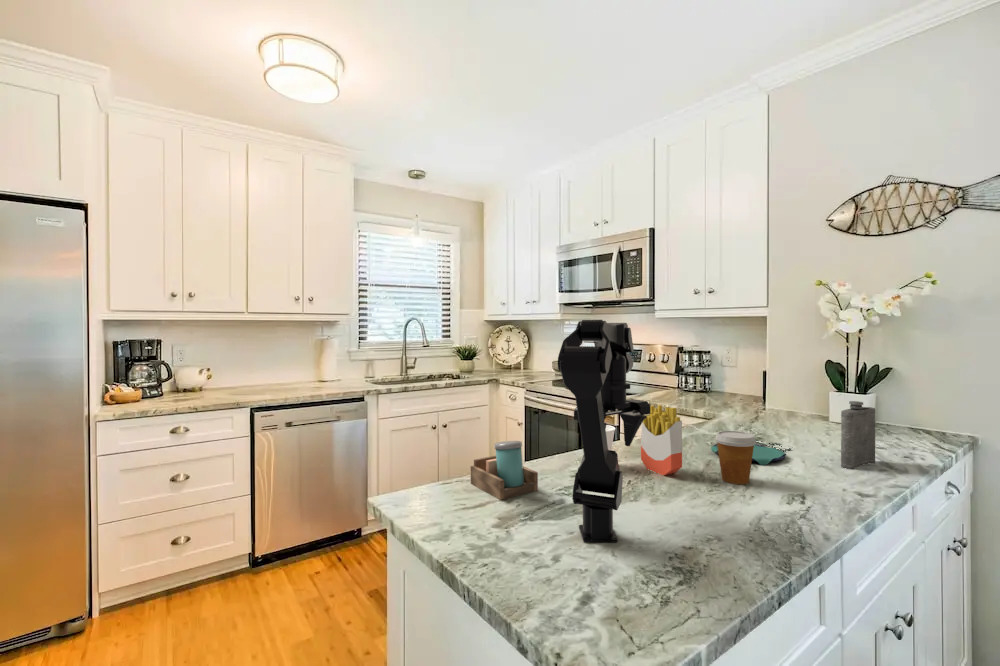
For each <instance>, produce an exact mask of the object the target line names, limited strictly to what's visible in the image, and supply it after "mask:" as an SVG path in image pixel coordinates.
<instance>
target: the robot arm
mask: <svg viewBox="0 0 1000 666" xmlns="http://www.w3.org/2000/svg"><path fill="white" fill-rule="evenodd" d="M583 342H593V343H594V346H592V345H591V346H589V345H588V346H582V344H583ZM633 352H634V343H633V336H632V329H631V327H629V326H628V323H627V322H607V321H606V320H603V319H582V320H579V321H578V322H577V325H576V329H575V330H574V331H572V332H571V333H570V334H569V335H567V337H566V338H565V339H563V341H562V343H561V347H560V350H559V353H558V356H557V369H558V371H559V372H560V374H561V377H562V382H563V385H564V386H565V387H566V388H567V389H568V391H570V393H571V394H573V396H574V398H575V399H574V400H575V404H576V407H575V408H574V410H573V420H575V421H577V422H578V423H579V430H580V437H581V443H582V444H581V445H582V449H583V455H582V459H581V462H580V464H579V466H578V467H577V471H576V472H575V476H574V481H573V489H572V503H573V505H582V524H579V525H578V530H579V533H580V536H581V538H582V541H583V542H586V543H587V542H588V543H589V542H590V543H616V542H618V541H619V538H618V536H617V535H616V532H615V530H614V524H613V523H614V516H613V515H614V511H618V510H619V508H620V506H621V504H622V497H623V481H624V477H623V475H624V473H623V471H622V470H620V465H619V457H618V453H617V452H616V450H612V449H611V450H608V445H607V438H606V430H605V429H606V425H607V423H606V422H605V420H606V418H607V416H608V417H609V416H614V415H619V416H620V418H621V420H622V422H623V424H622V425H623V440H624V445H625V446H626V447H631V445H632V442H633V440H634V439H635V436H636V434H637V433H638V430H639V429H640V427H641V426H642V422H643V420H644V419H645V418H647V416H646V415H649V414H650V406H651V405H650V403H649V402H648V401H647V400H641V399H636V398H628V399H627V390H630V389H631V383H627V374H629V372H631V371H632V369H633V368H634V360H633V357H632V355H631V354H630V353H633ZM584 492H588V493H584ZM589 492H590V493H591V494H590V493H589ZM592 493H598V494H603V495H597V494H592ZM605 495H612V496H613V497H611V496H605Z"/></svg>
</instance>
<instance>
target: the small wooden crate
mask: <svg viewBox="0 0 1000 666" xmlns="http://www.w3.org/2000/svg"><path fill="white" fill-rule="evenodd" d="M491 459H496V455H491V456H487V457H481V458H475V459H473V465H470V484H471V485H472V486H474V487H477V488H478V489H480V490H482V491H484V492H485V493H487V494H489V495H490V496H492V497H494V498H496V499H498V500H499V501H502V499H503V500H505V499H510V498H515V497H517V496H521V495H525V494H530V493H533V491H534V492H537V490H538V489H539V485H538V484H539V482H538V481H539V479H538V478H539V474H538V471H535V470H534V469H533V470H532V469H530V468H529V467H526V466H524V465H523V475H524V484H523V485H521V486H517V487H504V480H503V479H501V478H499V477H497V476H495V475H492V474H490V473H488V472H486V460H491ZM538 491H539V490H538ZM529 492H530V493H529Z"/></svg>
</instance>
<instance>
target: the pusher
mask: <svg viewBox="0 0 1000 666" xmlns="http://www.w3.org/2000/svg"><path fill="white" fill-rule="evenodd" d="M486 472H488V473H490V474H492V475H495V476H497V477H498V475H497V462H496V459H491V460H486Z"/></svg>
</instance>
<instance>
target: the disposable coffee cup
mask: <svg viewBox="0 0 1000 666" xmlns="http://www.w3.org/2000/svg"><path fill="white" fill-rule="evenodd" d="M714 439H715V441H716V444H717V446H718V452H717V454H718V459H719V460H718V461H719V468H720V475H721V480H722V481H724V482H725V483H728V484H732V483H733V485H747V484H748V483H750V476H751V471H752V469H751V468H752V464H753V463H752V462H753V461H752V456H753V448H754V445H755V444H757V443H756V440H757V439H756V438H755V435H754V434H752V433H750V432H745V431H740V430H720V431H717V432H716V436H715V437H714ZM755 439H756V440H755Z"/></svg>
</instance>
